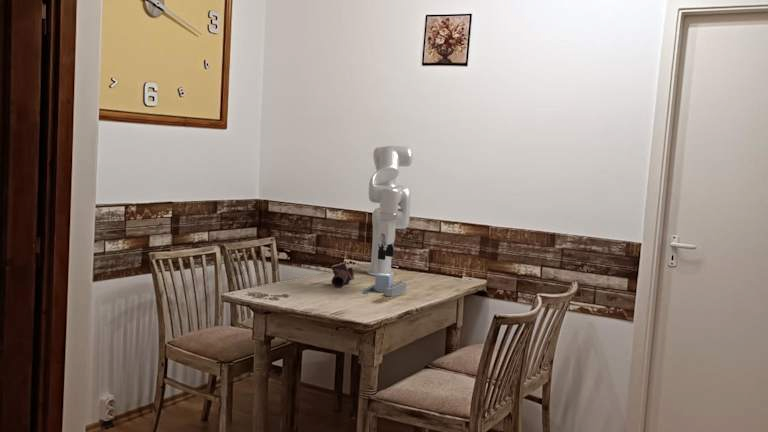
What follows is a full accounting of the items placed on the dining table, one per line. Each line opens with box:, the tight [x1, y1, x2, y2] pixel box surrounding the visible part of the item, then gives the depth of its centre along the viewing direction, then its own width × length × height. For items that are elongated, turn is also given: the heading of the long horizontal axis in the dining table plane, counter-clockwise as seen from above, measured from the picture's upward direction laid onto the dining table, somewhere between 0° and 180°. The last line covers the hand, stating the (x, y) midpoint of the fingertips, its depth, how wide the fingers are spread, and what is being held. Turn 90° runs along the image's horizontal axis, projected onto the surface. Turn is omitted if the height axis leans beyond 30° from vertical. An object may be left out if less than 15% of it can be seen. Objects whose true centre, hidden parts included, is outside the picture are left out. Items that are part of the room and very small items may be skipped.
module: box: [374, 273, 394, 293], centre depth 325 cm, size 6×5×7 cm
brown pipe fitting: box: [331, 261, 355, 289], centre depth 334 cm, size 6×17×10 cm, turn 172°
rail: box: [363, 281, 407, 298], centre depth 325 cm, size 12×18×4 cm
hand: (385, 257), depth 324 cm, fingers open, 9 cm apart
